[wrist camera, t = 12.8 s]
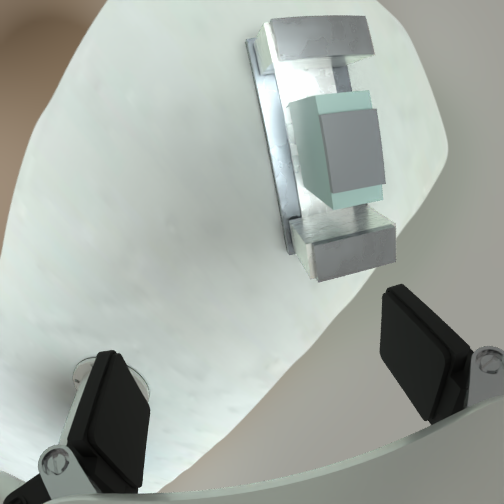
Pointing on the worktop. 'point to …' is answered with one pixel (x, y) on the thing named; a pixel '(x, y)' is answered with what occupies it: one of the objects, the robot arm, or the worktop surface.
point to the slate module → (339, 148)
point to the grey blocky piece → (285, 149)
